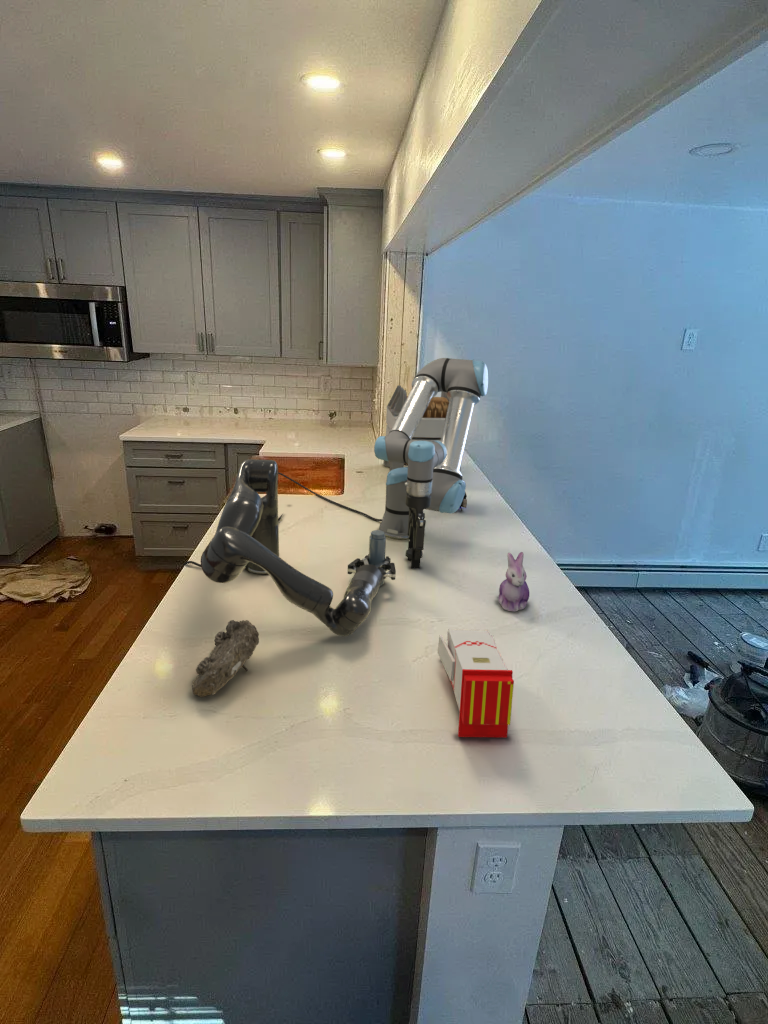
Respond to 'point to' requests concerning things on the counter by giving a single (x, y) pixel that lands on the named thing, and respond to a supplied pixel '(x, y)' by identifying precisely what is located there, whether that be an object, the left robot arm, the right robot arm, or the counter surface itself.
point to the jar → (377, 548)
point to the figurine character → (464, 502)
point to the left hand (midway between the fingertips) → (378, 558)
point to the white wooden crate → (428, 425)
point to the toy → (478, 682)
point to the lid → (409, 553)
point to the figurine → (514, 585)
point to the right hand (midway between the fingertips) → (413, 564)
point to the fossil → (226, 657)
